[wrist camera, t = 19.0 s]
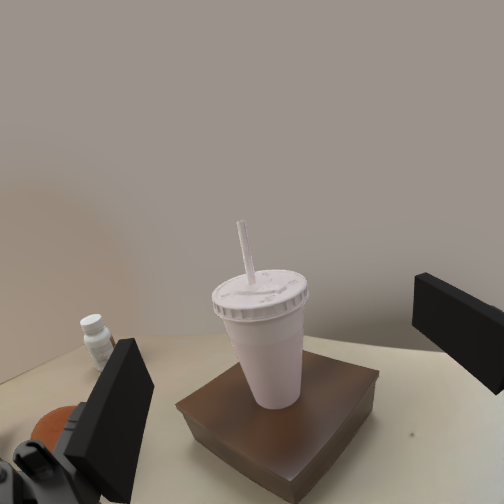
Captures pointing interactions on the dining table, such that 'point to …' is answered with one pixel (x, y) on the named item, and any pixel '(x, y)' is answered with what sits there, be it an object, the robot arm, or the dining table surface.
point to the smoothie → (265, 327)
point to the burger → (52, 426)
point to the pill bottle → (97, 340)
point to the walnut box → (283, 423)
